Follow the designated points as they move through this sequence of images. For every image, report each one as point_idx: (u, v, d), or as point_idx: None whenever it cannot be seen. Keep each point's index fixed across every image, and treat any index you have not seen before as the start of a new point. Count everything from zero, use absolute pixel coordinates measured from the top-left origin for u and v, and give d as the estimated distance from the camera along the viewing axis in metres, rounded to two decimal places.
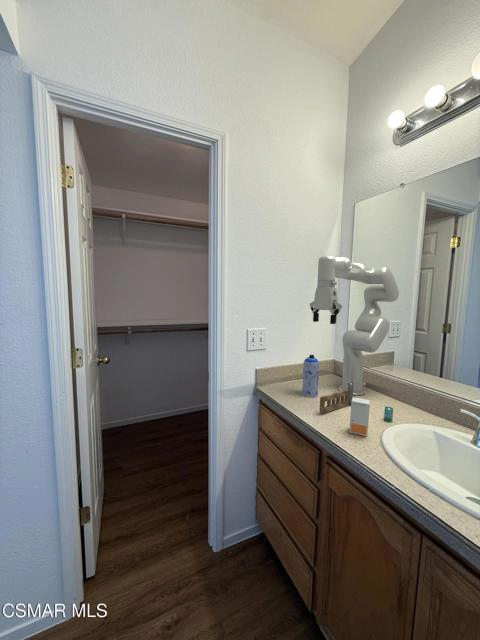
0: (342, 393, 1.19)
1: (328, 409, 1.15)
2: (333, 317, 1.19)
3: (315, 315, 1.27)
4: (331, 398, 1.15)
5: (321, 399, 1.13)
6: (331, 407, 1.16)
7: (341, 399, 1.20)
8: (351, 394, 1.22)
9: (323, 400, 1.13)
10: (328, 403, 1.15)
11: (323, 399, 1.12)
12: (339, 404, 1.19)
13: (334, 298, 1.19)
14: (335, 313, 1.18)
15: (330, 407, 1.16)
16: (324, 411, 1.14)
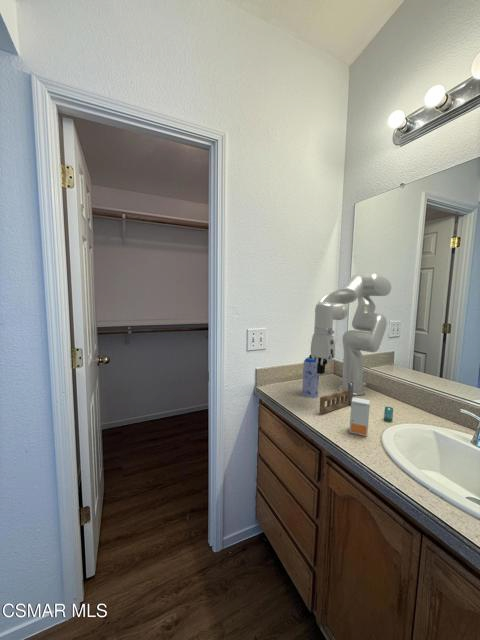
0: (342, 393, 1.19)
1: (328, 409, 1.15)
2: (322, 367, 1.18)
3: None
4: (331, 398, 1.15)
5: (321, 399, 1.13)
6: (331, 407, 1.16)
7: (341, 399, 1.20)
8: (351, 394, 1.22)
9: (323, 400, 1.13)
10: (328, 403, 1.15)
11: (323, 399, 1.12)
12: (339, 404, 1.19)
13: (331, 347, 1.15)
14: (323, 364, 1.17)
15: (330, 407, 1.16)
16: (324, 411, 1.14)
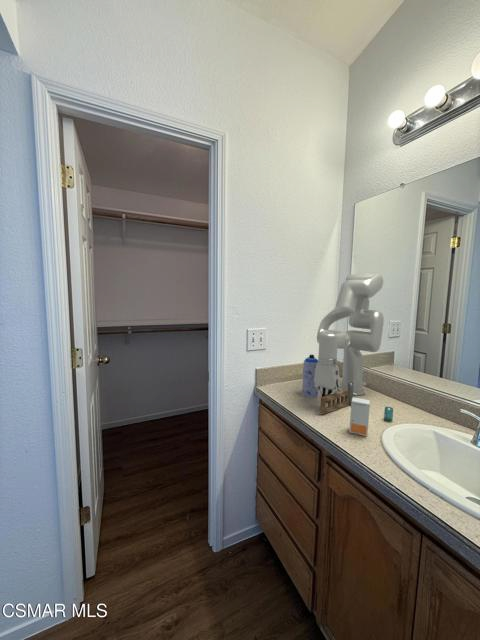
0: (342, 393, 1.19)
1: (329, 409, 1.15)
2: None
3: None
4: (332, 398, 1.15)
5: (322, 399, 1.12)
6: (332, 407, 1.16)
7: (341, 399, 1.20)
8: (351, 394, 1.22)
9: (324, 400, 1.12)
10: (329, 403, 1.15)
11: (324, 399, 1.12)
12: (339, 404, 1.19)
13: (336, 378, 1.14)
14: (328, 394, 1.17)
15: (331, 407, 1.15)
16: (325, 411, 1.13)
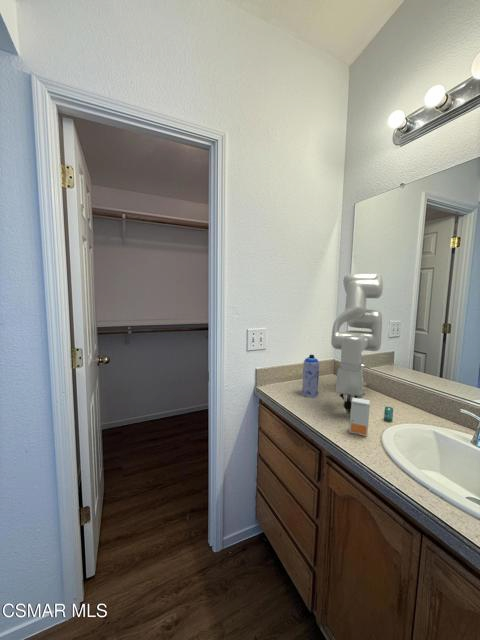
0: None
1: None
2: None
3: None
4: None
5: None
6: None
7: None
8: None
9: None
10: None
11: None
12: None
13: None
14: None
15: None
16: None
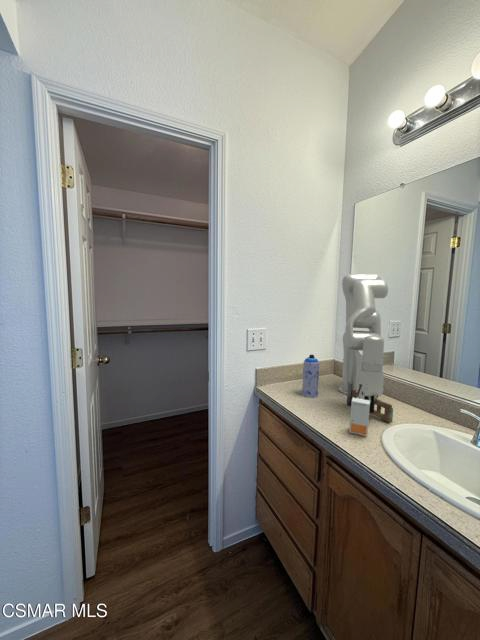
0: None
1: None
2: None
3: None
4: None
5: (391, 407, 1.06)
6: None
7: None
8: (351, 394, 1.22)
9: None
10: (380, 409, 1.10)
11: None
12: None
13: None
14: None
15: None
16: None
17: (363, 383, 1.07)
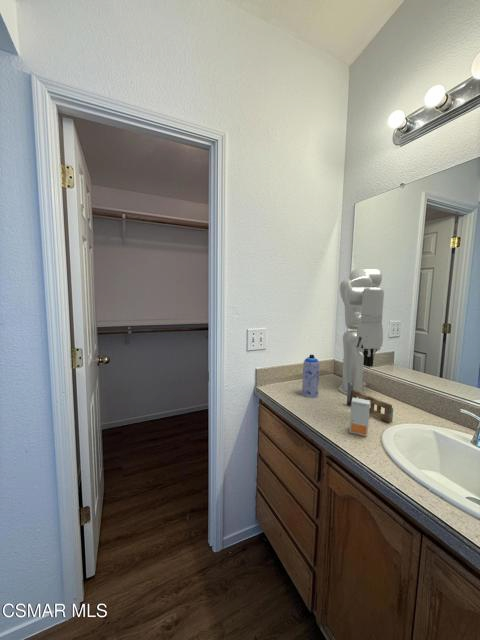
0: None
1: None
2: None
3: None
4: None
5: (391, 407, 1.06)
6: None
7: None
8: (351, 394, 1.22)
9: None
10: (380, 409, 1.10)
11: None
12: None
13: None
14: None
15: None
16: None
17: (363, 335, 1.04)
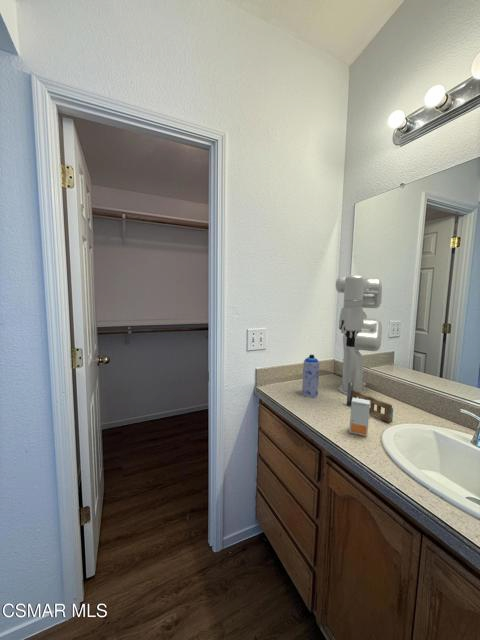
0: None
1: None
2: None
3: None
4: None
5: (391, 407, 1.06)
6: None
7: None
8: (351, 394, 1.22)
9: None
10: (380, 409, 1.10)
11: None
12: None
13: None
14: (355, 335, 1.20)
15: None
16: None
17: (345, 318, 1.16)
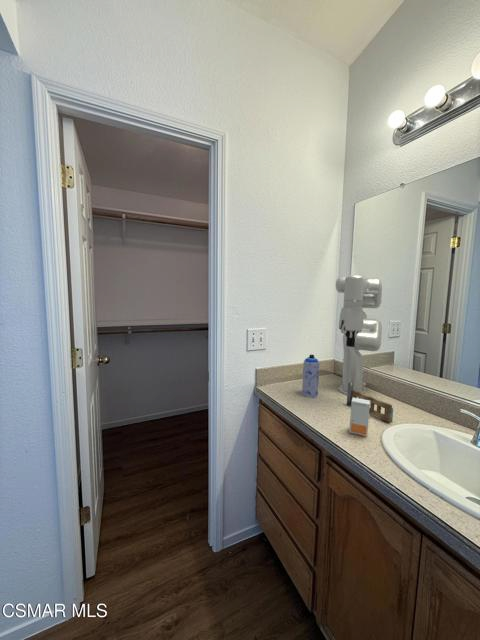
0: None
1: None
2: None
3: None
4: None
5: (391, 407, 1.06)
6: None
7: None
8: (351, 394, 1.22)
9: None
10: (380, 409, 1.10)
11: None
12: None
13: None
14: (355, 335, 1.20)
15: None
16: None
17: (345, 318, 1.16)
